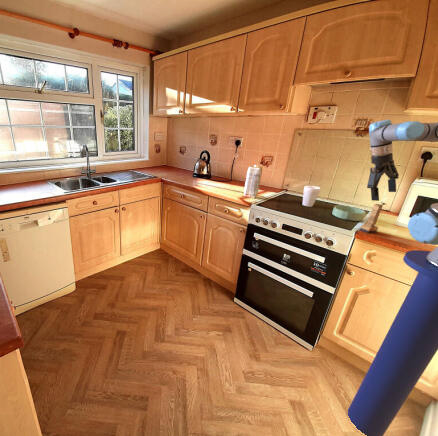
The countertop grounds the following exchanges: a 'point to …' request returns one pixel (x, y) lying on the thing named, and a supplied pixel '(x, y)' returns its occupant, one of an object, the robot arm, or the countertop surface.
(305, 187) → the foam cup
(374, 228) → the dish brush
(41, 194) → the countertop surface
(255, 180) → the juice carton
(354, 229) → the countertop surface
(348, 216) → the bowl
